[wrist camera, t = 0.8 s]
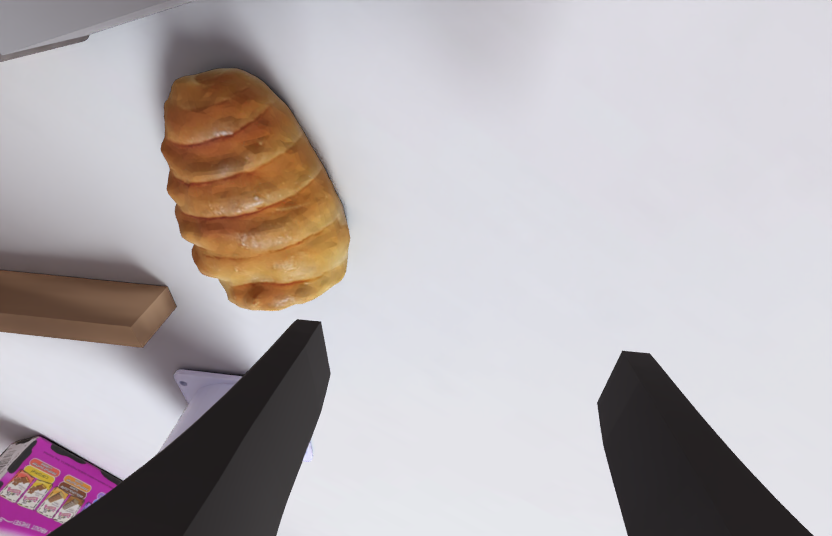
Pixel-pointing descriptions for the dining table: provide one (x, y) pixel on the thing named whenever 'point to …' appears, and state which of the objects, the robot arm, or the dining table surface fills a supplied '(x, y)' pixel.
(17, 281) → the frame
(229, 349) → the dining table surface
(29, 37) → the grey flat bar
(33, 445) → the candy bar box
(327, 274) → the pastry
